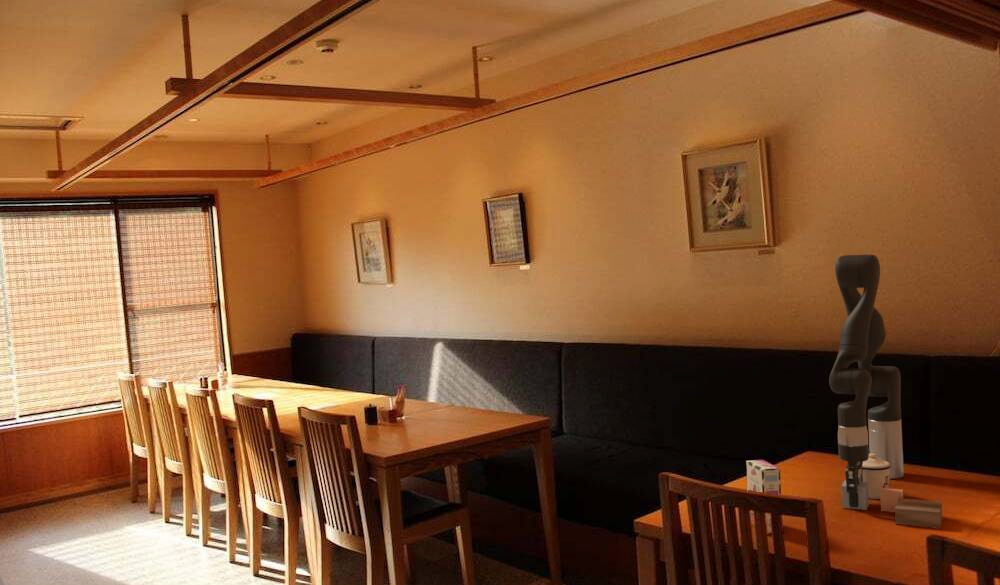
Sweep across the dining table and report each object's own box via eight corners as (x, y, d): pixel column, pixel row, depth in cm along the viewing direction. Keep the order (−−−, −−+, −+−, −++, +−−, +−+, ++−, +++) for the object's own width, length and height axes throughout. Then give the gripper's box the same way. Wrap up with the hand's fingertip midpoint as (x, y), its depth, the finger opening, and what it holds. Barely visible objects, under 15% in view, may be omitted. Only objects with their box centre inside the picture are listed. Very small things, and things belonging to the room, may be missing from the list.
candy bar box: (784, 533, 215) (781, 468, 214) (764, 535, 215) (761, 469, 214) (766, 520, 226) (763, 458, 226) (747, 522, 226) (744, 459, 225)
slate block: (845, 501, 238) (844, 480, 238) (869, 503, 235) (868, 482, 235) (842, 507, 233) (841, 485, 233) (866, 510, 230) (865, 487, 230)
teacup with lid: (890, 500, 237) (888, 458, 237) (855, 498, 241) (853, 457, 241) (893, 489, 248) (891, 449, 247) (858, 487, 252) (857, 447, 252)
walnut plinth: (899, 513, 226) (898, 498, 226) (942, 517, 221) (941, 501, 221) (895, 524, 217) (894, 508, 217) (940, 528, 212) (939, 512, 212)
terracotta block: (883, 506, 233) (882, 488, 233) (903, 508, 230) (902, 489, 230) (881, 511, 228) (880, 492, 228) (901, 513, 226) (901, 494, 226)
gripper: (842, 435, 241) (845, 495, 242) (833, 446, 229) (836, 509, 230) (871, 437, 238) (874, 497, 238) (864, 448, 225) (867, 512, 226)
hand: (855, 503), depth 234 cm, fingers closed on slate block, 6 cm apart
